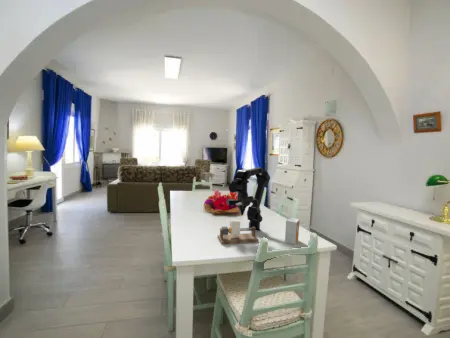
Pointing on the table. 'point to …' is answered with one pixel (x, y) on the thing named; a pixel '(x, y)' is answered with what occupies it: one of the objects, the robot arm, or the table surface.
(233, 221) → the sleeve
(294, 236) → the small box
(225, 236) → the rod stand
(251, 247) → the table surface
